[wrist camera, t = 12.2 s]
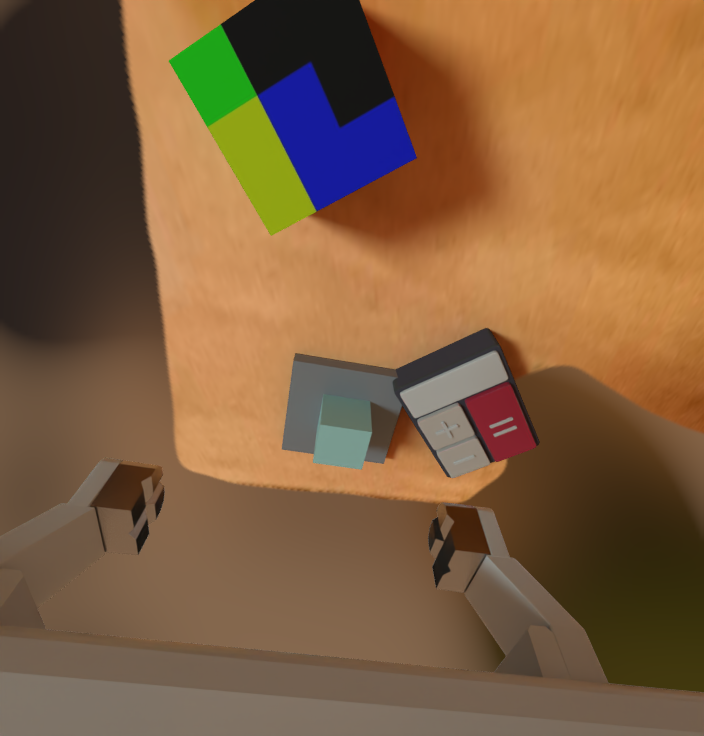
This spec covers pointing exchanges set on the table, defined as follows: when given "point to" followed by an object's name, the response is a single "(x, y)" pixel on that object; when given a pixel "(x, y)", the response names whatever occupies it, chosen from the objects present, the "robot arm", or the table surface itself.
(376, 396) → the slate coaster
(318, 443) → the teal cube
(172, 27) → the table surface
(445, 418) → the calculator
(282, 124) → the puzzle toy
